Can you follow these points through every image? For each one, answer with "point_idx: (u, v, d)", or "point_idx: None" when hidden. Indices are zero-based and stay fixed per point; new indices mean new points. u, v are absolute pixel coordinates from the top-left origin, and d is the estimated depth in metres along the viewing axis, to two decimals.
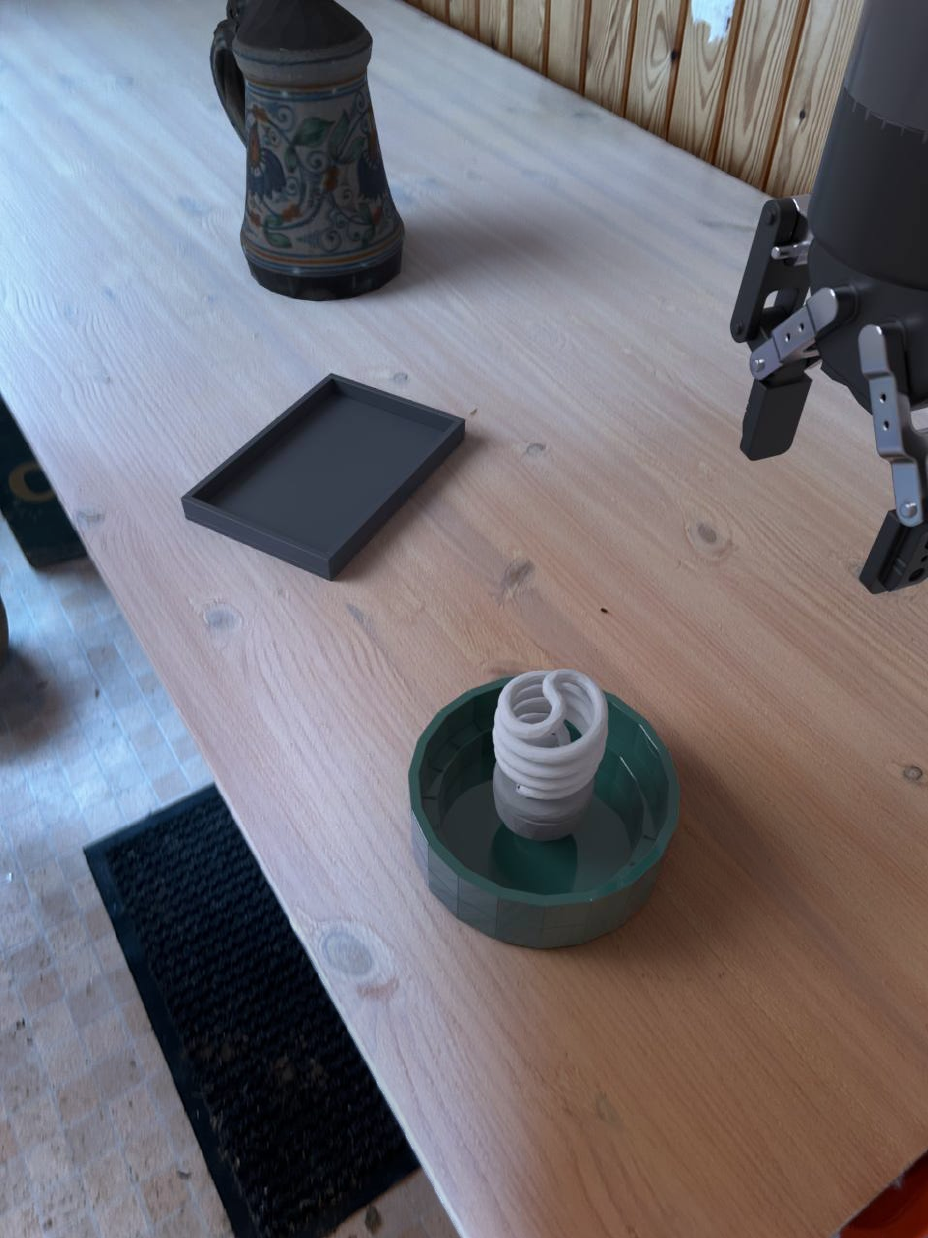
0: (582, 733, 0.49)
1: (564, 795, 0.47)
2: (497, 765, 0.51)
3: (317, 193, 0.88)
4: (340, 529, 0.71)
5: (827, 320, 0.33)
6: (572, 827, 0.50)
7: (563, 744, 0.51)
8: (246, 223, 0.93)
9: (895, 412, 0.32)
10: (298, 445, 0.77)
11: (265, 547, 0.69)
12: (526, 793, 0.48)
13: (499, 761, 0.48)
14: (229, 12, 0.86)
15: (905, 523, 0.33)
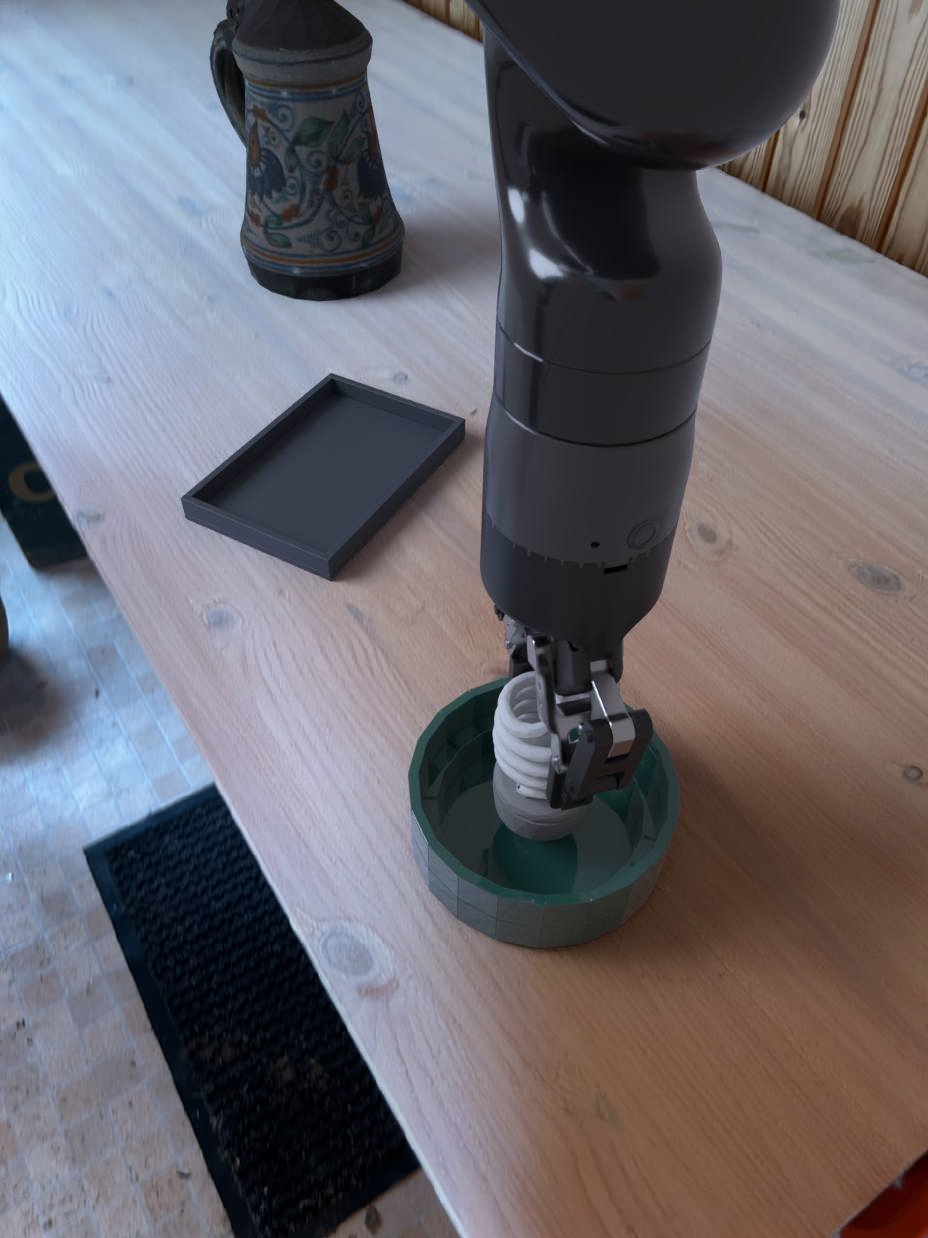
0: None
1: None
2: (497, 765, 0.51)
3: (317, 193, 0.88)
4: (340, 529, 0.71)
5: None
6: (572, 827, 0.50)
7: None
8: (246, 223, 0.93)
9: (544, 701, 0.41)
10: (298, 445, 0.77)
11: (265, 547, 0.69)
12: (526, 793, 0.48)
13: (499, 761, 0.48)
14: (229, 12, 0.86)
15: (555, 769, 0.43)
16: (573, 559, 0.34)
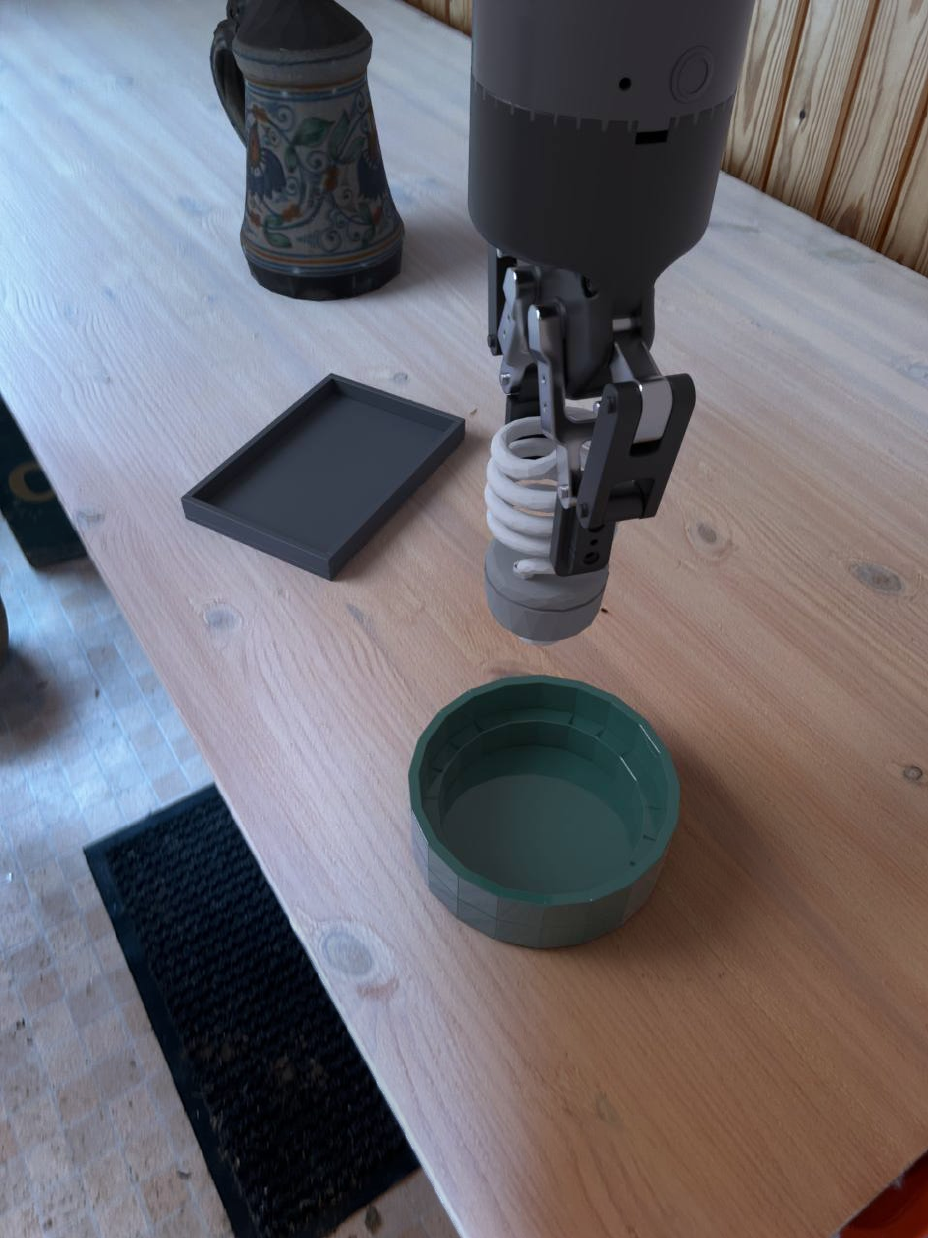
0: None
1: None
2: (490, 547, 0.41)
3: (317, 193, 0.88)
4: (340, 529, 0.71)
5: (512, 301, 0.33)
6: (581, 622, 0.41)
7: None
8: (246, 223, 0.93)
9: (550, 398, 0.32)
10: (298, 445, 0.77)
11: (265, 547, 0.69)
12: (525, 567, 0.39)
13: (492, 526, 0.38)
14: (229, 12, 0.86)
15: (563, 504, 0.34)
16: (594, 114, 0.25)
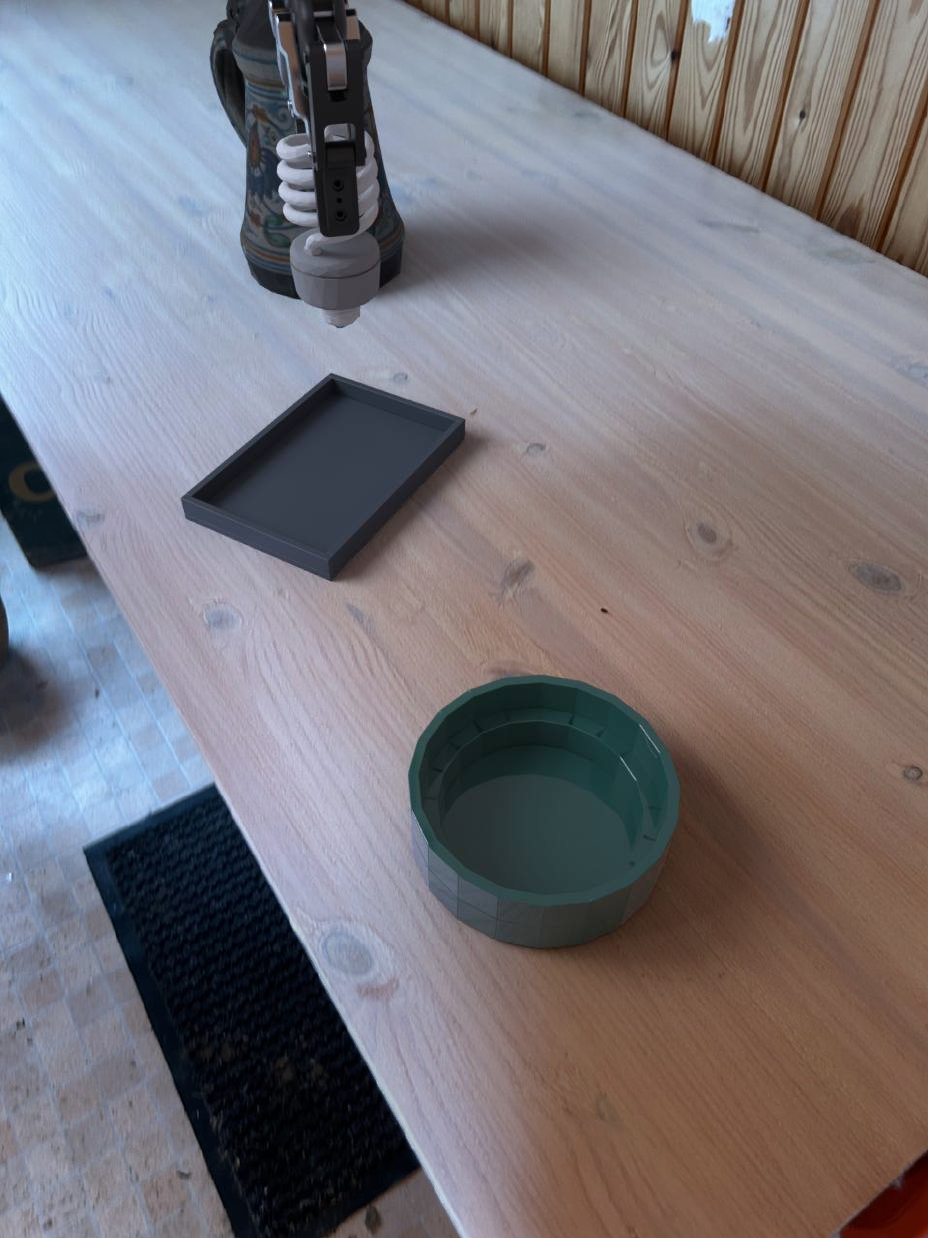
0: None
1: None
2: (293, 240, 0.57)
3: None
4: (340, 529, 0.71)
5: (272, 22, 0.48)
6: (358, 293, 0.57)
7: None
8: (246, 223, 0.93)
9: (291, 80, 0.47)
10: (298, 445, 0.77)
11: (265, 547, 0.69)
12: (308, 240, 0.54)
13: (284, 210, 0.54)
14: (229, 12, 0.86)
15: (312, 166, 0.49)
16: None
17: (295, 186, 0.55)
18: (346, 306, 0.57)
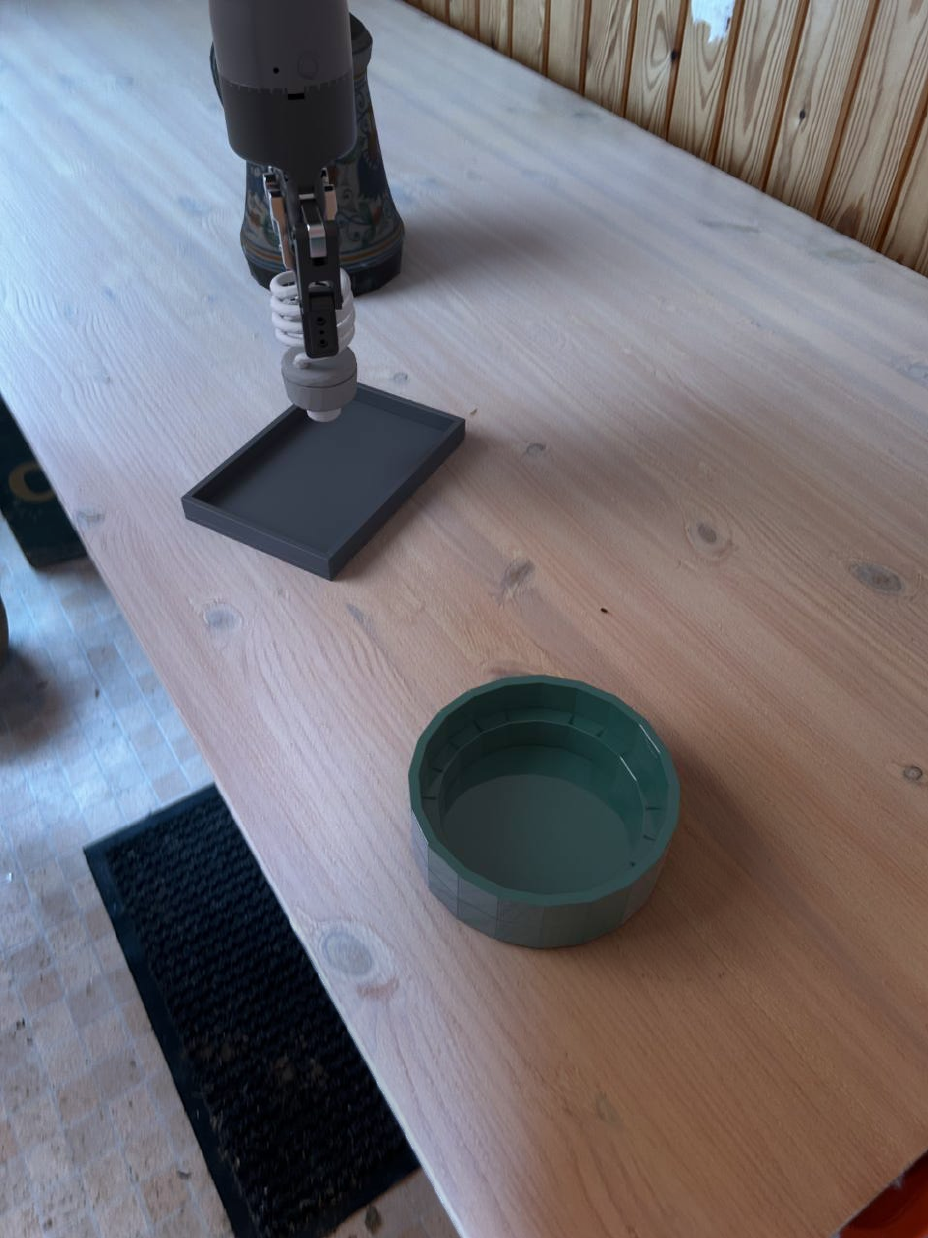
0: None
1: None
2: (284, 354, 0.68)
3: None
4: (340, 529, 0.71)
5: (266, 192, 0.60)
6: (339, 398, 0.68)
7: None
8: (246, 223, 0.93)
9: (282, 242, 0.58)
10: (298, 445, 0.77)
11: (265, 547, 0.69)
12: (297, 358, 0.65)
13: (276, 333, 0.65)
14: None
15: (299, 307, 0.60)
16: (265, 85, 0.51)
17: None
18: (329, 409, 0.68)
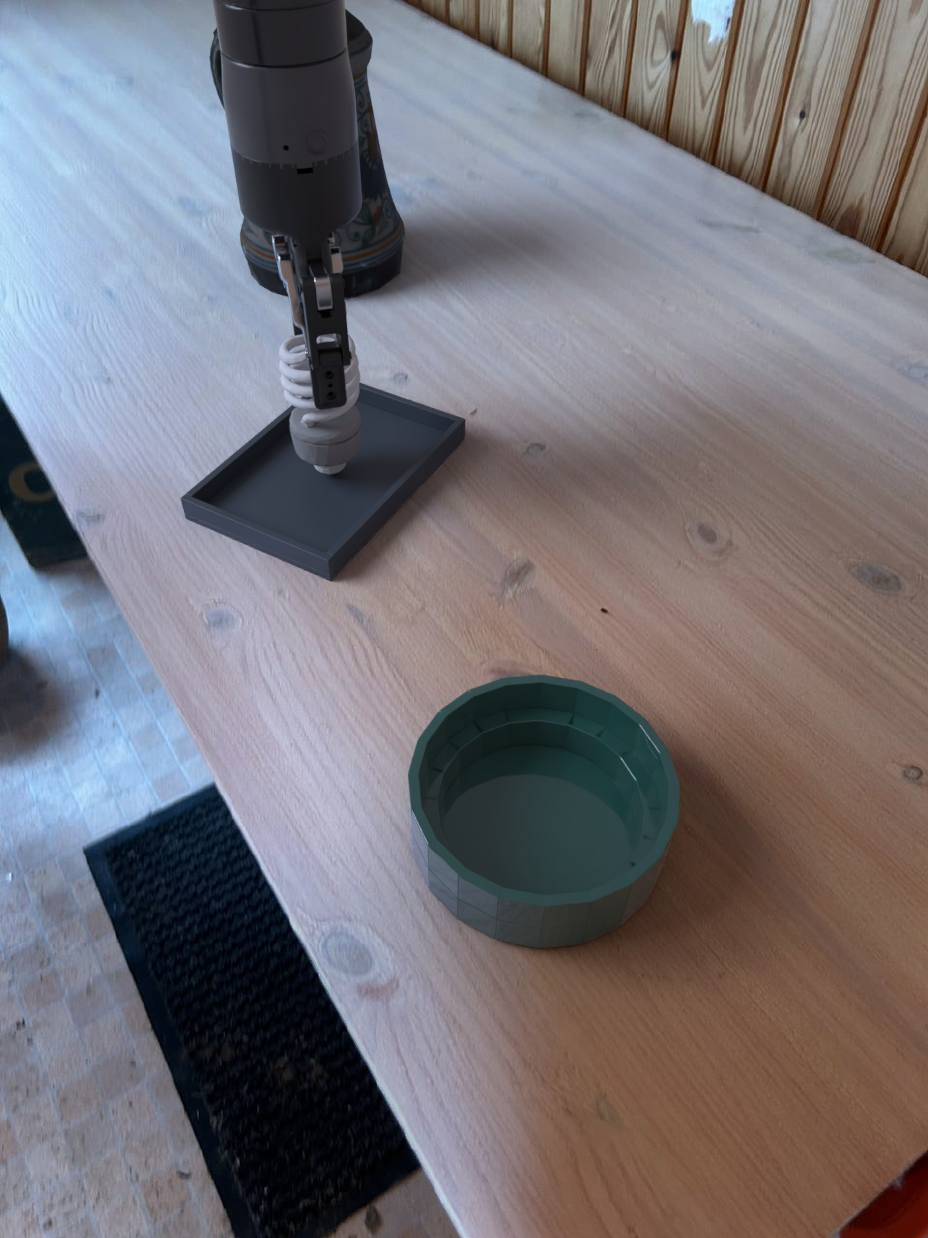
0: None
1: (329, 415, 0.68)
2: (292, 412, 0.71)
3: None
4: (340, 529, 0.71)
5: (275, 252, 0.62)
6: (344, 454, 0.71)
7: None
8: (246, 223, 0.93)
9: (290, 299, 0.61)
10: None
11: (265, 547, 0.69)
12: (304, 418, 0.69)
13: (285, 395, 0.69)
14: None
15: None
16: (275, 160, 0.54)
17: None
18: (334, 464, 0.71)
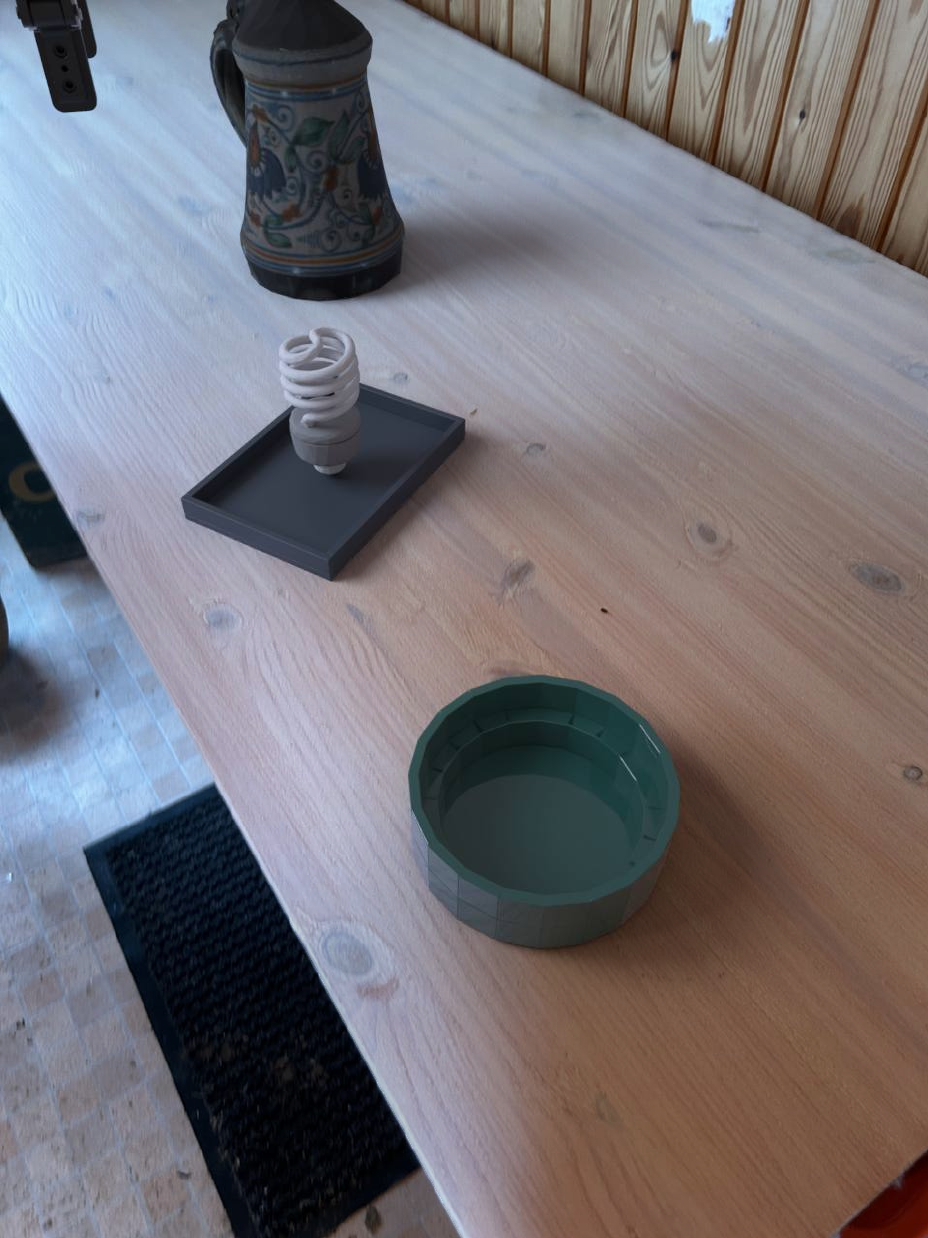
0: None
1: (329, 415, 0.68)
2: (292, 412, 0.71)
3: (317, 193, 0.88)
4: (340, 529, 0.71)
5: None
6: (344, 454, 0.71)
7: None
8: (246, 223, 0.93)
9: None
10: None
11: (265, 547, 0.69)
12: (304, 418, 0.69)
13: (285, 395, 0.69)
14: (229, 12, 0.86)
15: None
16: None
17: None
18: (334, 464, 0.71)
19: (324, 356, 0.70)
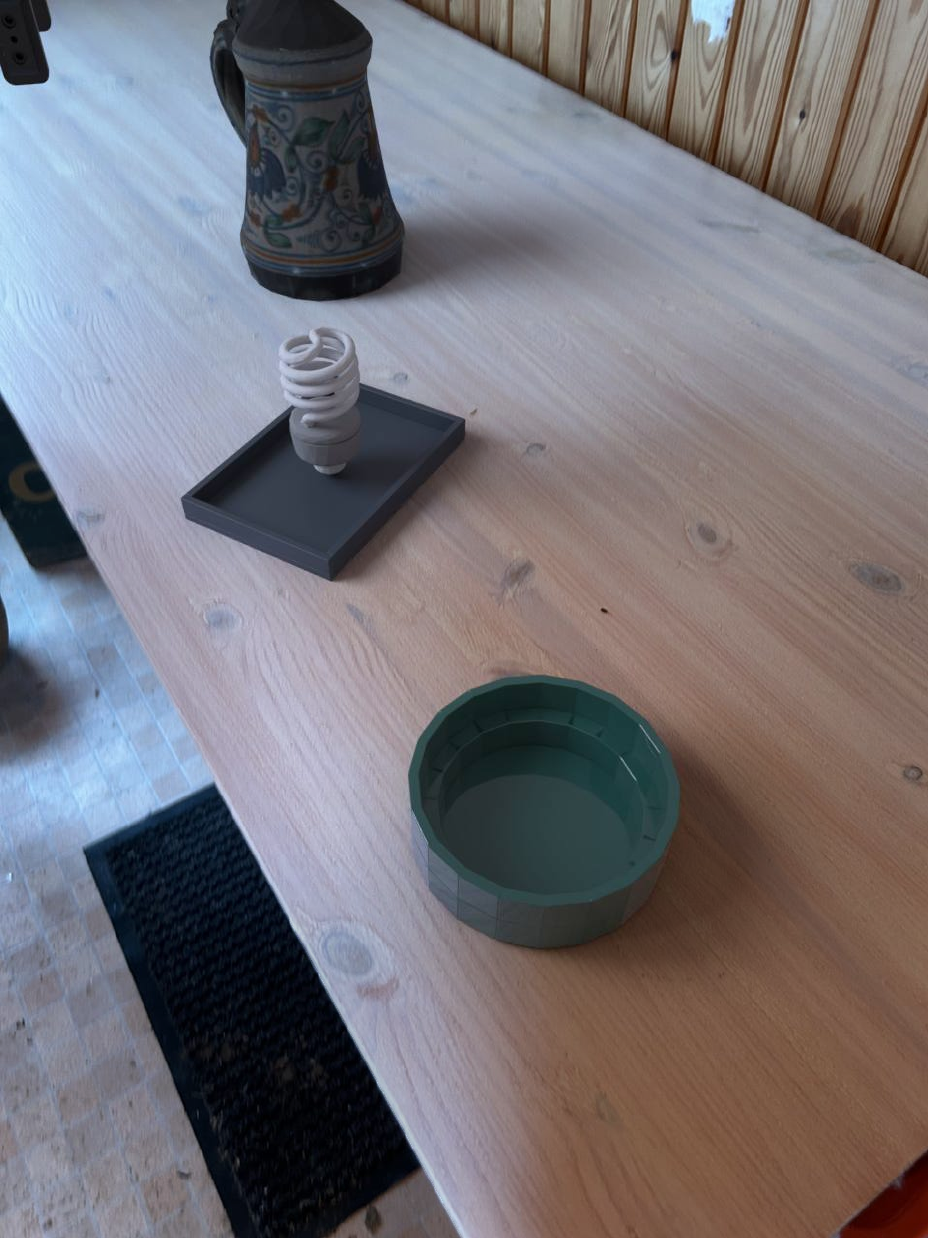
0: None
1: (329, 415, 0.68)
2: (292, 412, 0.71)
3: (317, 193, 0.88)
4: (340, 529, 0.71)
5: None
6: (344, 454, 0.71)
7: None
8: (246, 223, 0.93)
9: None
10: None
11: (265, 547, 0.69)
12: (304, 418, 0.69)
13: (285, 395, 0.69)
14: (229, 12, 0.86)
15: None
16: None
17: None
18: (334, 464, 0.71)
19: (324, 356, 0.70)
